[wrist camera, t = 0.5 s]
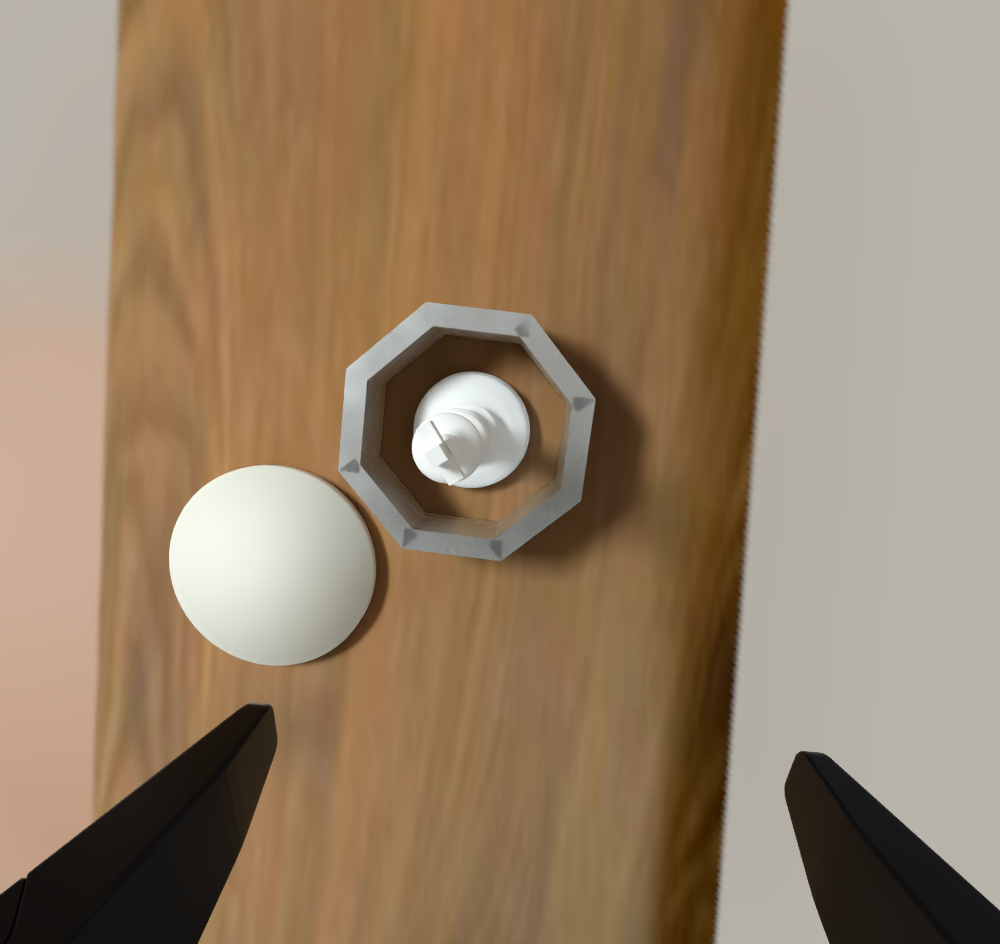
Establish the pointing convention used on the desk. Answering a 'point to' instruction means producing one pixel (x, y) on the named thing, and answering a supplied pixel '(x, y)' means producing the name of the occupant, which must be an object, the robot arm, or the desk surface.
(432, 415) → the chess piece
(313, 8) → the desk surface
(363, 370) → the ring collar
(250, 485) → the felt pad
